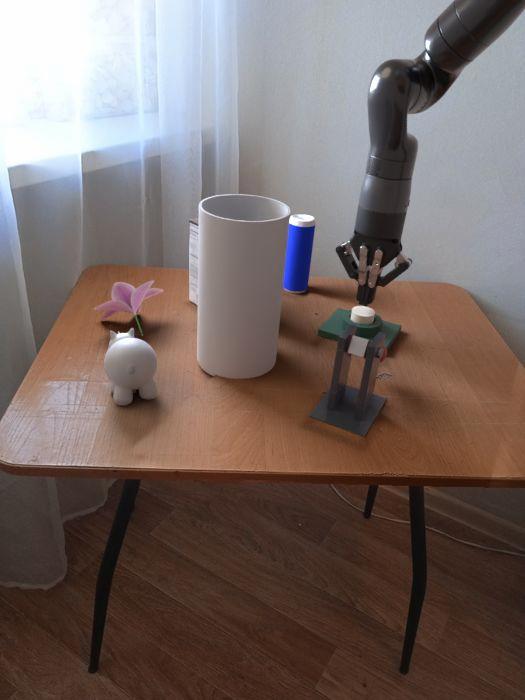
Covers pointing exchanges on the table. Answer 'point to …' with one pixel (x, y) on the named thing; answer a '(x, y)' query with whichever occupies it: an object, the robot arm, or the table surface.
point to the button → (362, 315)
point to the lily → (127, 299)
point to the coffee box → (193, 259)
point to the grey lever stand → (352, 388)
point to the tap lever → (362, 347)
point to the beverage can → (299, 253)
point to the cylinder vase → (240, 283)
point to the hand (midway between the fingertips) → (364, 304)
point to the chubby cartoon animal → (130, 367)
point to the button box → (358, 327)
